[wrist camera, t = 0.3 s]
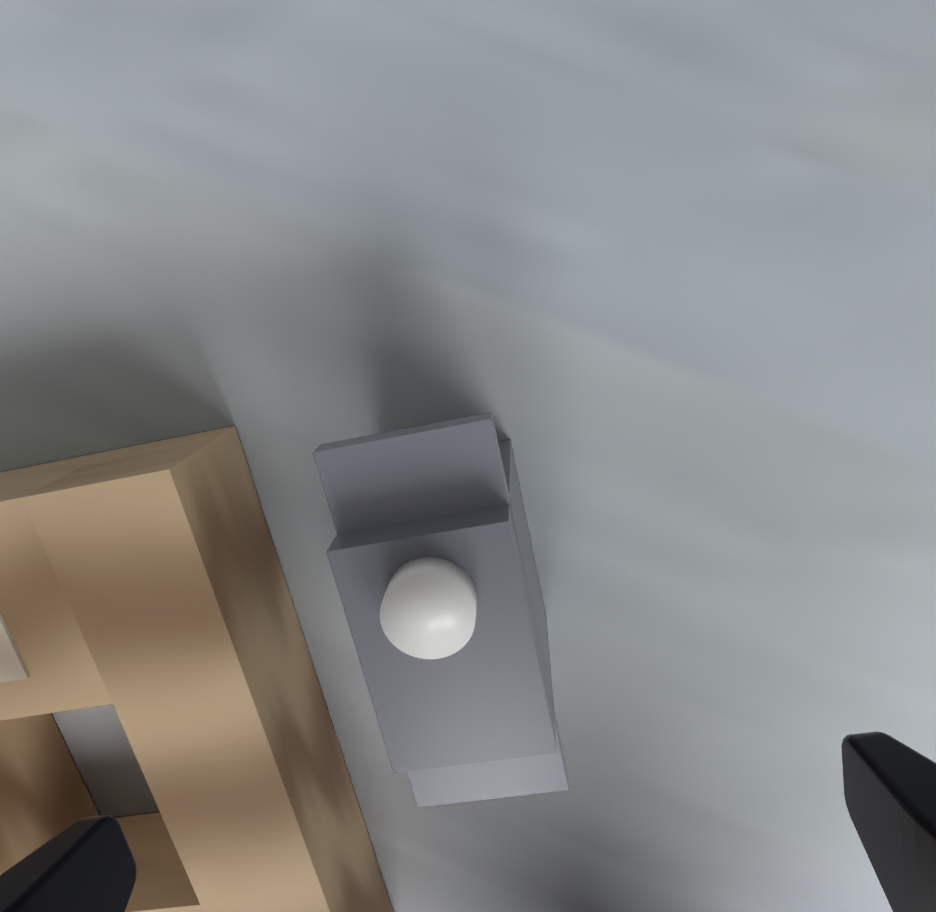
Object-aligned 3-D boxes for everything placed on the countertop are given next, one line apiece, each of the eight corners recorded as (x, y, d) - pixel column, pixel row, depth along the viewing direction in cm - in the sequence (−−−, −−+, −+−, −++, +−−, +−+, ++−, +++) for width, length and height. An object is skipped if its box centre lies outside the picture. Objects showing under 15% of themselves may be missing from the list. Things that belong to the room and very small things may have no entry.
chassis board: (395, 917, 26) (374, 1037, 22) (68, 947, 28) (-5, 1064, 24) (234, 425, 20) (167, 470, 16) (-165, 504, 22) (-313, 562, 18)
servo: (556, 668, 22) (574, 847, 15) (438, 685, 22) (407, 865, 16) (497, 373, 19) (487, 441, 13) (363, 400, 20) (288, 478, 13)
